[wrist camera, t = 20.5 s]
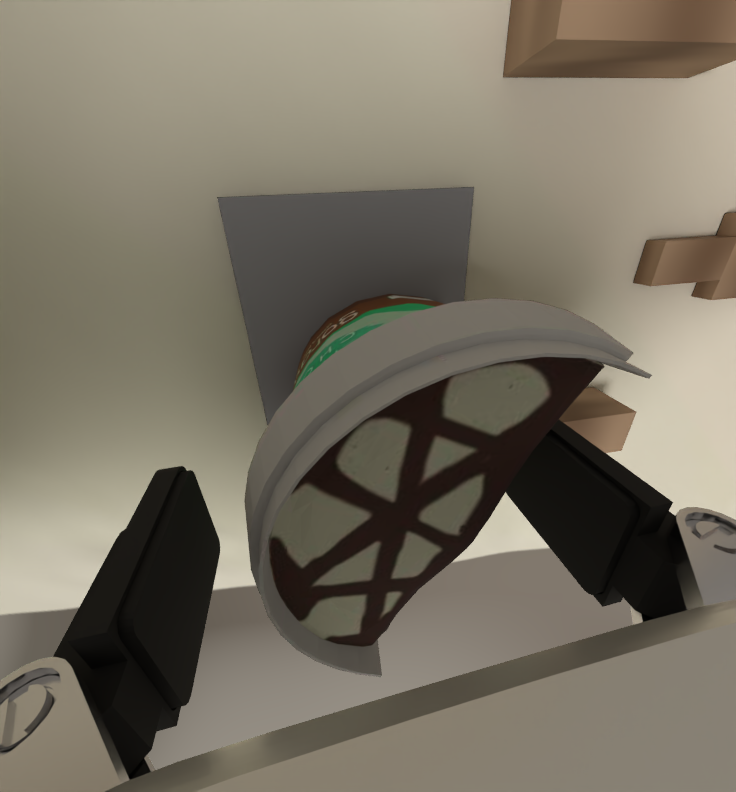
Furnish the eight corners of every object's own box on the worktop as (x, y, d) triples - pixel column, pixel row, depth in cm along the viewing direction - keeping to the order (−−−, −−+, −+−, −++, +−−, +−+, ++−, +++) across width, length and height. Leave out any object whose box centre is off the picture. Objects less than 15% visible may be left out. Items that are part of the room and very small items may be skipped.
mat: (284, 491, 20) (283, 497, 19) (220, 198, 13) (217, 197, 12) (445, 467, 21) (448, 472, 21) (468, 188, 14) (474, 187, 14)
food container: (338, 201, 13) (410, 161, 4) (460, 276, 15) (673, 351, 6) (234, 444, 17) (163, 675, 8) (341, 476, 19) (373, 686, 11)
